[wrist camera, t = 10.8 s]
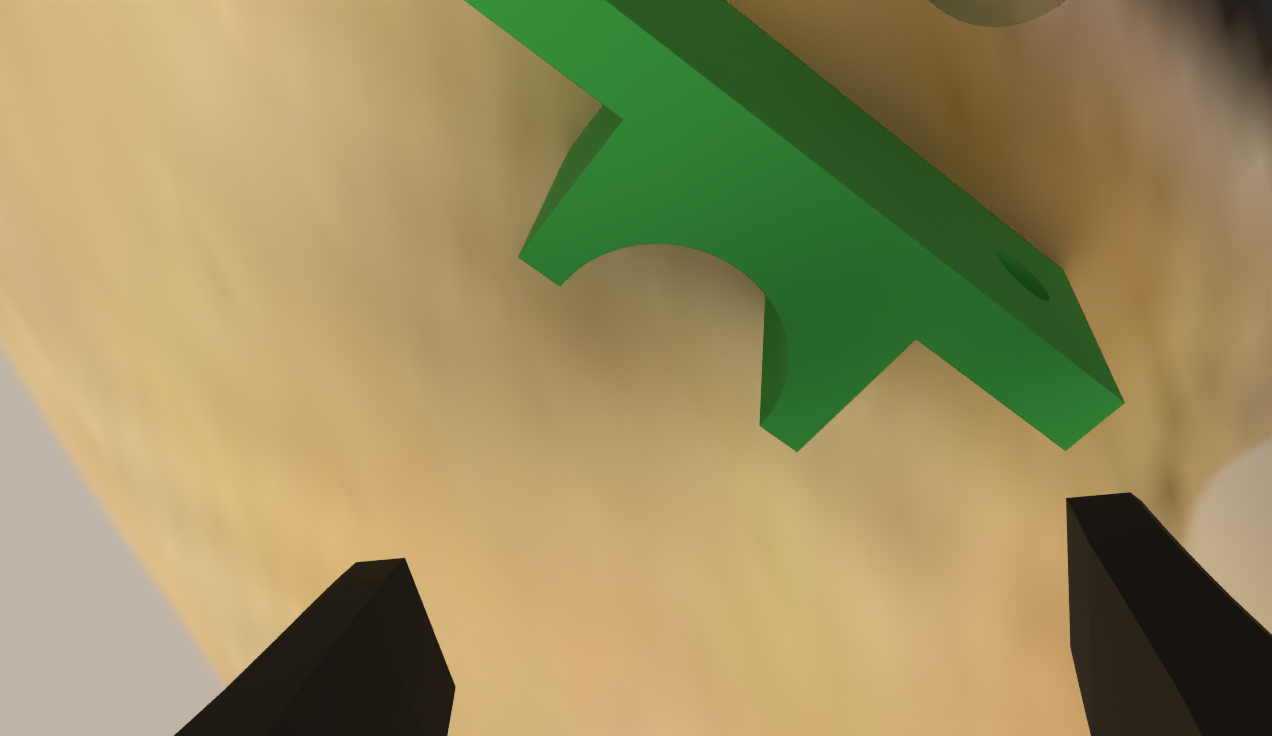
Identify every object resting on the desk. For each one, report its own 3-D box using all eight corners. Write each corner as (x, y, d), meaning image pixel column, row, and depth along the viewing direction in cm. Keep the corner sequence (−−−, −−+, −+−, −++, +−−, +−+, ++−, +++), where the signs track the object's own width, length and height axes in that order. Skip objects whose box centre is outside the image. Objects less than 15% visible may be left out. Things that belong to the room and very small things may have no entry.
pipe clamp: (428, 43, 20) (335, 131, 16) (549, -147, 18) (477, -102, 14) (916, 404, 22) (941, 558, 18) (1065, 268, 20) (1128, 407, 16)
